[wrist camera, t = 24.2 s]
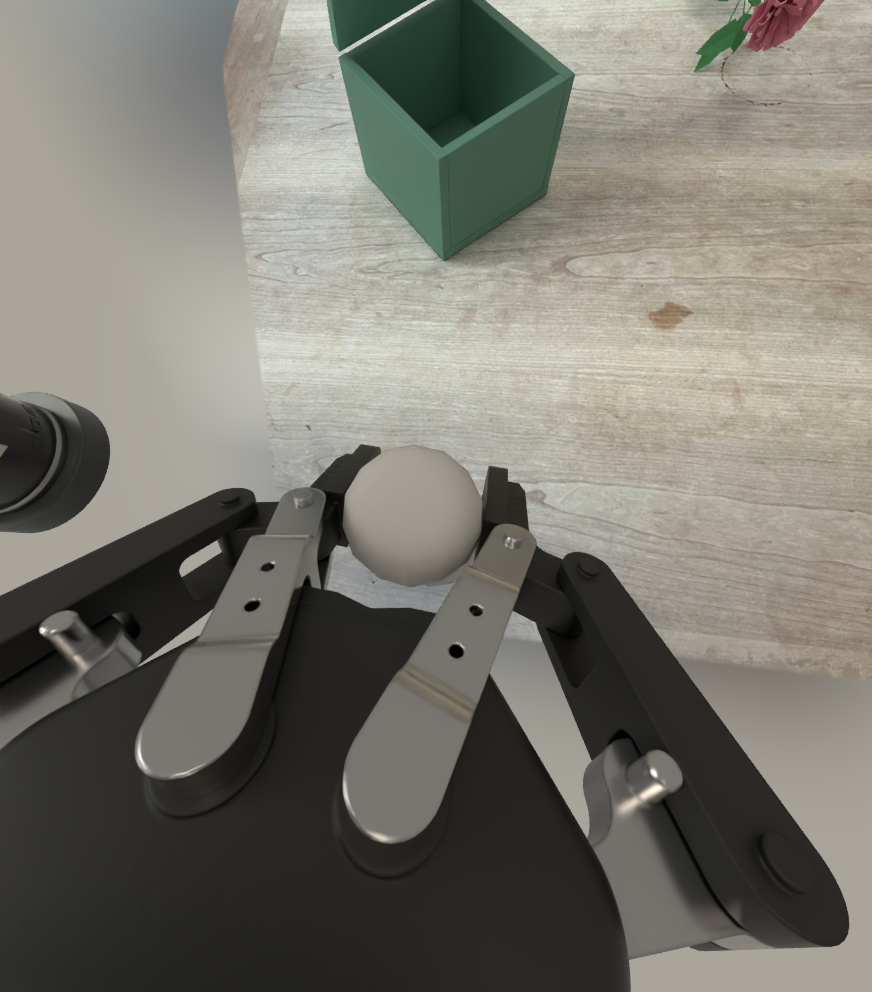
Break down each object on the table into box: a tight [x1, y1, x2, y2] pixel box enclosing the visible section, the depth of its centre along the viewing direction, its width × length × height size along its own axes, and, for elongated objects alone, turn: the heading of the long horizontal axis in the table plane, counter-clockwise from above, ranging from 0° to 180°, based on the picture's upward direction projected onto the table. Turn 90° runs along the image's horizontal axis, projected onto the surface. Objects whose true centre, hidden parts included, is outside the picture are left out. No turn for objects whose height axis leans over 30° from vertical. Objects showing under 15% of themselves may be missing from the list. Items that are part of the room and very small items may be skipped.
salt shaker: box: [342, 445, 483, 588], centre depth 15 cm, size 6×6×13 cm
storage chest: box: [339, 0, 575, 261], centre depth 28 cm, size 14×12×8 cm
